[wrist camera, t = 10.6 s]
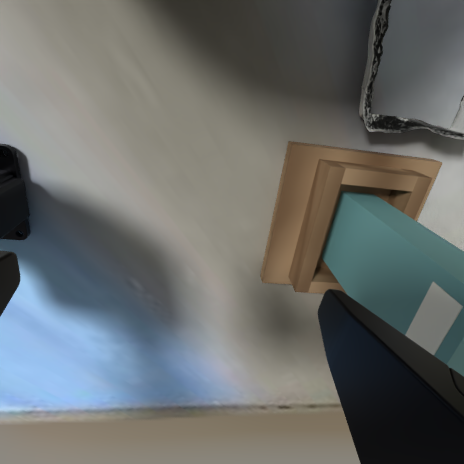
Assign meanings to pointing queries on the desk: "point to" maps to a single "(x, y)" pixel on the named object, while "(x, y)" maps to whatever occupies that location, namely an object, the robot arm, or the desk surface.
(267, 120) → the desk surface
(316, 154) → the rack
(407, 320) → the teal labeled box
